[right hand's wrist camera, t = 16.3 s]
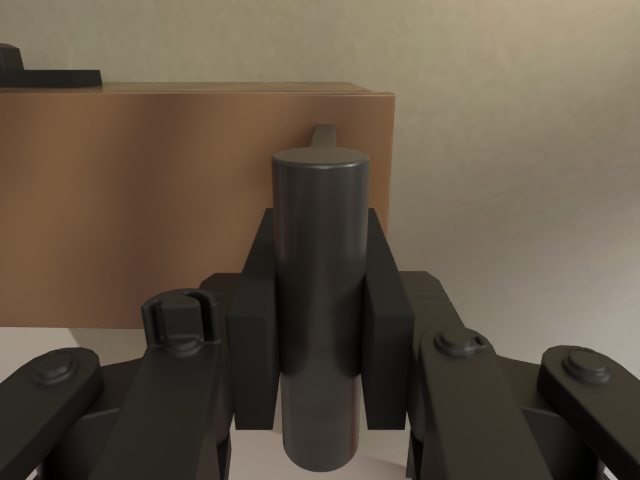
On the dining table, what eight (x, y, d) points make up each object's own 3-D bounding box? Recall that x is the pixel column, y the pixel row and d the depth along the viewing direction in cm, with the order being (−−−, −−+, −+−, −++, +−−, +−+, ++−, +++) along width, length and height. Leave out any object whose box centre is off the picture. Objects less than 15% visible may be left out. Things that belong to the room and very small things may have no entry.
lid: (390, 91, 16) (454, 116, 7) (378, 316, 19) (412, 500, 11) (-67, 91, 16) (-477, 114, 8) (2, 311, 19) (-234, 484, 11)
